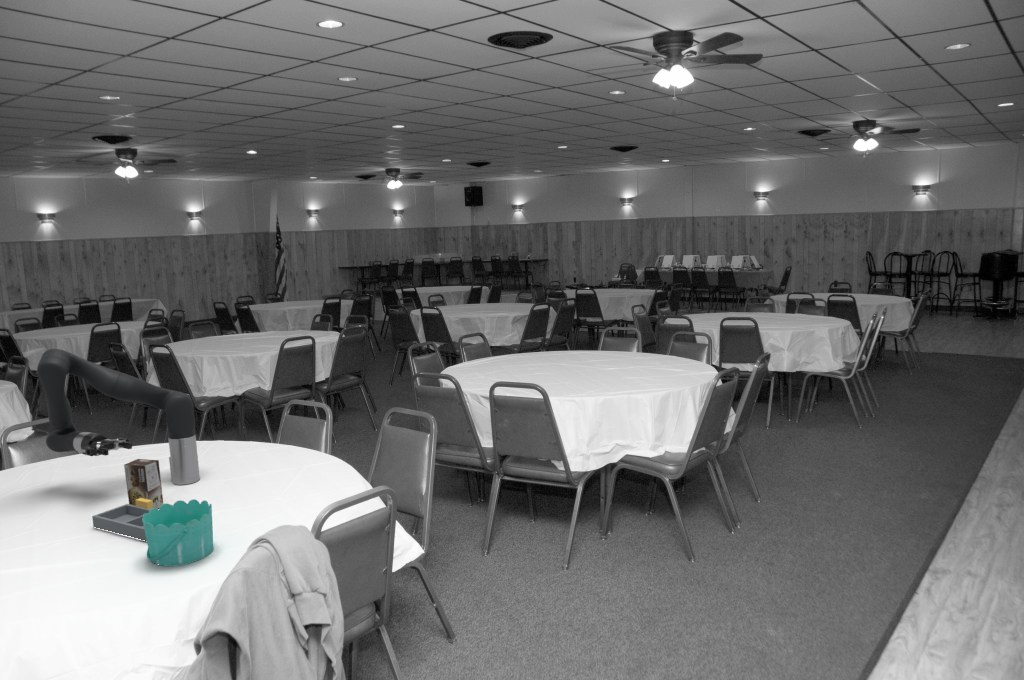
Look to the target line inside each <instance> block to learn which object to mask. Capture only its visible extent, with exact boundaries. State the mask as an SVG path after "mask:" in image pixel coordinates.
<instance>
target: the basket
mask: <svg viewBox="0 0 1024 680" xmlns="http://www.w3.org/2000/svg"><path fill="white" fill-rule="evenodd" d="M171 505H173V506H171ZM171 505H170V503H163V505H161V506H160V508H159V509H156V508H152V509H151V510H150V511H149V515H148V514H146V513H145V514H144V515H143V519H142V521H143V527H144V530H145V536H146V539H147V542H146V543H147V550H146V557H147V559H148V560H150V562H151V561H152V562H153V563H152V562H151V563H152V564H154V563H155V564H154V565H156V564H159V565H158V566H160V565H166V566H165V567H175V565H176V566H183V565H187V564H190V563H193V562H194V563H195V562H197V561H200V560H202V559H204V558H206V557H207V556H209V555H210V554H211V553H212V552H213V550H214V530H213V529H214V528H213V508H212V507H213V505H212V503H209V502H208V501H207V500H202V501H201V502H199V501H198V500H197V499H190V500H189V501H188V503H187V502H186V501H184V500H176V501H175V502H174V503H173V504H171Z"/></svg>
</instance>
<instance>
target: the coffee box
mask: <svg viewBox="0 0 1024 680" xmlns="http://www.w3.org/2000/svg"><path fill="white" fill-rule="evenodd" d="M123 467H124V475H125V482H126V490H127V497H128V504H130V505H135V506H136V502H135V500H136V499H139V498H144V499H148V500H153V508H156V509H158V508H160V506H161V505H163V504H164V497H163V496H164V495H163V490H162V489H163V488H162V480H161V478H162V477H161V470H160V462H159V459H147V458H143V459H142V458H136V459H134V460H132V461H129V462H127V463H125V464H123ZM158 510H159V509H158Z"/></svg>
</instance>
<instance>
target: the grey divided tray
mask: <svg viewBox="0 0 1024 680" xmlns="http://www.w3.org/2000/svg"><path fill="white" fill-rule="evenodd" d="M135 502H136V506H135V505H130V504H129V503H125V504H123V505H120V506H117V507H115V508H112V509H109V510H106V511H103V512H99V513H97V514H94V515H92V516H91V517H92V519H91V520H92V523H93V524H92V526H93V528H94V527H96V528H100V529H104V530H108V531H112V532H115V533H119V534H123V535H127V536H131V537H134V538H138V539H141V540H145V541H147V539H146V536H145V530H144V527H143V521H142V519H143V515H144V514H145V513H146V514H148V515H149V511H150V510H151V509H152V508H153V500H148V499H144V498H139V499H136V500H135ZM169 504H170V503H169ZM170 505H171V506H173V505H174V504H170Z"/></svg>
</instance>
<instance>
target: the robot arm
mask: <svg viewBox="0 0 1024 680" xmlns="http://www.w3.org/2000/svg"><path fill="white" fill-rule="evenodd" d="M36 372H37V376H38V379H39V382H40V384H41V387H42V389H43V392H44V396H45V401H46V405H47V414H48V415H47V416H48V424H49V425H50V427H51V428H52V429H54V430H55V431H53V432H51V433H49V434H48V435H47V436H46V439H45V443H46V446H47V447H48V449H49V450H50V451H53V452H55V453H65V452H78V453H81V454H82V455H85V456H90V457H93V456H95V457H99V456H101V455H102V456H109V452H110V451H118V450H119V449H127V450H132V449H133V443H132V442H131V441H130V438H124V437H116V438H115V439H110V438H108V437H106V436H105V435H104V434H102V433H101V434H100V433H95V432H90V431H89V432H87V431H80V430H78V429H77V426H76V425H75V423H74V421H73V416H72V408H71V403H70V401H69V399H68V397H67V394H66V391H65V389H66V379H67V376H68V375H72V376H75V377H78V378H80V379H83V380H85V381H86V382H87V383H88V384H89V385H90V386H92V387H93V388H94V389H96V390H97V391H98V392H99V393H101V394H103V395H105V396H107V397H110V398H113V399H115V400H120V401H123V402H127V403H128V402H129V403H133V404H143V405H148V406H150V407H153V408H156V409H158V410H161V411H163V412H165V413H166V422H167V435H168V436H167V437H168V445H169V455H170V456H169V458H168V460H169V467H170V468H169V469H170V479H171V483H173V484H174V485H178V486H179V485H181V486H183V485H190V484H195V483H196V482H199V481H200V479H201V476H200V466H199V456H198V445H197V435H196V418H195V408H194V403H193V400H192V399H191V397H190V396H189V395H188V394H187V393H185V392H182V391H177V390H173V389H168V388H164V387H160V386H158V385H155V384H152V383H150V382H148V381H145V380H143V379H141V378H138V377H135V376H132V375H130V374H127V373H124V372H122V371H118V370H115V369H112V368H109V367H106V366H103V365H100V364H97V363H94V362H92V361H89V360H87V359H85V358H82V357H81V356H78V355H75V354H74V353H71V352H69V351H68V350H67V351H66V350H63V349H61V348H60V349H59V348H50V349H47V350H45V351H44V352H43V353H42V355H41V358H40V359H39V362H38V363H37V367H36Z"/></svg>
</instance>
